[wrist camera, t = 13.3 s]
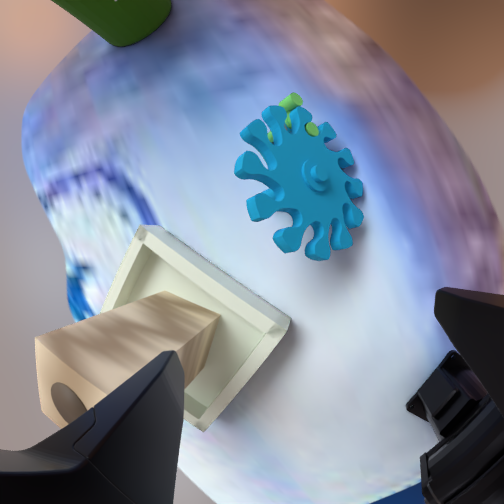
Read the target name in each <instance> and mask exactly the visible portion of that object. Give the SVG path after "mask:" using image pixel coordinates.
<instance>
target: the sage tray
mask: <svg viewBox="0 0 504 504" xmlns="http://www.w3.org/2000/svg"><path fill="white" fill-rule="evenodd" d="M164 290H165V291H167V292H170V293H172V294H174V295H176V296H179V297H181V298H183V299H185V300H188V301H190V302H192V303H195V304H197V305H199V306H202V307H204V308H206V309H209V310H211V311H214V312H216V313H218V314H221V315H220V318H219V322H218V325H217V328H216V331H215V334H214V338H213V341H212V344H211V347H210V350H209V354H208V357H207V360H206V363H205V366H204V368H203V369H202V370H201V372H200V373H199V374H198V375H197V376H196V377H195V378H194V379H193V381H192V382H191V383H190V384H189V385H188V386H187V387H186V388H185V390H184V418H183V419H185V420H186V421H188V422H189V423H191V424H192V425H193V426H195V427H196V428H198V429H199V430H201V431H202V432H204V431H205V430H206V429H207V428H208V427H209V426H210V425H211V423H212V422H213V421H214V420H215V419H216V418H217V417H218V416H219V414H220V413H221V412H222V411H223V410H224V409H225V408H226V406H227V405H228V404H229V403H230V402H231V401H232V399H233V398H234V397H235V396H236V395H237V394H238V392H239V391H240V390H241V389H242V388H243V386H244V385H245V384H246V383H247V382H248V380H249V379H250V378H251V377H252V375H253V374H254V373H255V372H256V371H257V369H258V368H259V367H260V366H261V364H262V363H263V362H264V360H265V359H266V358H267V357H268V355H269V354H270V353H271V352H272V350H273V349H274V348H275V346H276V345H277V344H278V343H279V341H280V340H281V339H282V337H283V336H284V335H285V333H286V332H287V330H288V327H289V324H290V320H291V318H290V317H289V316H287V315H286V314H284V313H283V312H281V311H280V310H278V309H277V308H275V307H274V306H272V305H271V304H269V303H268V302H266V301H265V300H264V299H262V298H261V297H259V296H258V295H256V294H255V293H253V292H252V291H250V290H249V289H248V288H246V287H245V286H243V285H242V284H240V283H239V282H237V281H236V280H235V279H233V278H232V277H230V276H229V275H227V274H226V273H225V272H223V271H222V270H220V269H219V268H218V267H216V266H215V265H213V264H212V263H210V262H209V261H208V260H206V259H205V258H203V257H202V256H201V255H199V254H198V253H196V252H195V251H194V250H192V249H191V248H190V247H188V246H187V245H185V244H184V243H183V242H181V241H180V240H179V239H177V238H176V237H174V236H173V235H172V234H170V233H169V232H168V231H166V230H165V229H164V228H162V227H161V226H157V225H139V227H138V229H137V231H136V233H135V235H134V237H133V239H132V241H131V243H130V246H129V248H128V250H127V252H126V254H125V256H124V258H123V260H122V263H121V265H120V267H119V269H118V271H117V274H116V276H115V278H114V280H113V283H112V285H111V287H110V290H109V292H108V295H107V297H106V299H105V302H104V304H103V307H102V309H101V312H100V314H101V313H104V312H107V311H110V310H112V309H115V308H118V307H121V306H123V305H126V304H129V303H132V302H134V301H137V300H140V299H143V298H145V297H148V296H151V295H154V294H156V293H159V292H162V291H164Z"/></svg>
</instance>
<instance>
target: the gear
mask: <svg viewBox="0 0 504 504" xmlns="http://www.w3.org/2000/svg"><path fill="white" fill-rule="evenodd" d="M302 104H303V101H302V98H301V97H300V96H299V95H298V94H296V93H291V94H290V95H289V96H287V97H286V98H285V99H284V100H282V101H281V102H280V103H279V106H269V107H267V108H266V109H265V110H264V111H263V112H262V118H263V120H264V121H265V122H266V124H267V125H268V127H269V128H270V130H271V131H270V132H269V133H268V134H267V128H266V126H265V124H264V123H263V122H262V121H261V120H260V119H257V120H254V121H253V122H251V123H250V124H249V125H248V126H247V127H245V128H244V129H243V130H242V131H241V132H240V136H241V138H242V139H243V140H244V141H245V142H247V143H248V144H250V145H252V146H253V147H255V148H256V149H257V150H258V151H259V152H260V153H261V155H262V156H263V158H264V160H265V161H266V163H267V165H268V169H266V168H265V167H264V166H263V164H262V162H261V161H260V159H259V157H258V156H257V155H256V154H255V153H253V152H251V151H246V152H244V153H243V154H242V155H241V156H239V157H238V159H237V161H236V164H235V170H234V174H235V175H236V176H237V177H238V178H240V179H244V180H245V179H254V180H257V181H260V182H262V183H263V184H265V185H266V186H268V187H269V189H267V190H265V191H264V192H262V193H259V194H257V195H255V196H253V197H251V198H249V199H247V200H246V202H247V210H248V213H249V216H250V218H251V220H252V221H254V222H258V221H261V220H264V219H267V218H269V217H271V216H272V215H273V213H275V212H276V211H282V212H287V213H289V214H290V215H291V217H292V219H293V225H292V227H287V228H284V229H280V230H278V231H276V232H275V233H274V235H273V240H274V242H275V243H276V245H277V246H278V247H279V248H280V249H281V250H282V251H283V252H284V253H289V252H295V251H297V250H298V249H299V248H300V246H301V241H302V237H303V234H304V232H305V230H306V228H307V227H308V226H309V225H311V226H312V227H313V230H314V237H313V239H312V240H311V241H310V242H309V243H308V244H307V245H306V247H305V256H307V257H308V258H310V259H312V260H316V261H321V260H328V259H329V258H330V253H331V251H330V246H329V239H328V234H329V227H330V224H331V226H332V234H331V238H330V245H331V248H332V250H341V249H346V248H349V247H351V246H352V245H353V240H352V237H351V235H350V233H349V232H348V230H347V228H346V226H347V227H348V228H349V229H350V228H355V227H359V226H360V225H361V223H362V221H363V218H364V216H363V213H362V211H361V210H360V209H358V208H357V207H356V206H355V205H354V204H353V203H352V201H351V200H350V198H351V199H354V198H358V197H361V196H362V194H363V184H362V182H361V181H360V180H359V179H354V178H351V177H349V176H348V175H347V174H345V173H344V172H343V171H342V170H341V168H346V167H349V166H351V165H353V164H354V160H353V157H352V154H351V152H350V150H349V149H348V148H345V149H342V150H340V151H338V152H334V151H331V150H329V149H328V148H327V147H326V146H325V144H324V143H326V142H328V141H330V140H332V139H334V138H336V133H335V131H334V130H333V128H332V127H331V126H330V125H329V123H328V122H325V123H323V124H321V125H320V126H318V127H317V126H316V125H315V124H314V123H312V122H311V121H312V115H311V113H310V112H308V111H307V110H306V109H304V108H302V107H300V106H301V105H302ZM273 141H274V145H273V144H272V142H273ZM340 167H341V168H340Z"/></svg>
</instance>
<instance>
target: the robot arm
mask: <svg viewBox="0 0 504 504" xmlns="http://www.w3.org/2000/svg"><path fill="white" fill-rule="evenodd" d="M434 314H435V317H436V319H437V320H438V322H439V323H440V325H441V326H442V328H443V330H444V331H445V333H446V334H447V336H448V337H449V339H450V341H451V342H452V344H453V345H454V347H455V348H456V350H457V351H458V352H459V353H457V352H456V351H454V350H451V351H450V352H449V353H448V354H447V355H446V357H445V358H444V359H443V361H442V362H441V363H440V365H439V366H438V367H437V368H436V369H435V371H434V372H433V373H432V374H431V376H430V377H429V378H428V379H427V380H426V382H425V383H424V384H423V385H422V386H421V388H420V389H419V390H418V391H417V392H416V394H415V395H414V396H413V397H412V398H411V399H410V400H409V401H408V402H407V404H406V409H407V410H408V411H409V412H411V413H413V414H415V415H416V416H418V417H420V418H422V419H424V420H426V421H427V422H429V423H430V424H431V426H432V428H433V430H434V432H435V434H436V436H437V438H438V440H439V443H438V444H437V445H435V446H434V447H433V448H432V449H431V450H429V451H428V452H427V453H426V452H425V453H424V454H423V455H422V456H420V464H421V465H420V467H421V482H422V494H423V496H424V497H425V503H426V504H504V295H500V294H492V293H485V292H478V291H471V290H464V289H457V288H450V287H444V288H441V289H439V290H437V292H436V295H435V306H434ZM452 355H454V356H453V357H452V358H451V356H452ZM184 387H185V374H184V370H183V367H182V365H181V362H180V359H179V357H178V354H177V352H176V351H175V350H168V351H163V352H161V353H160V354H159V355H157V356H156V357H155V358H154V359H152V360H151V361H150V362H149V363H147V364H146V365H145V366H144V367H142V368H141V369H140V370H139V371H137V372H136V373H135V374H134V375H132V376H131V377H130V378H129V379H127V380H126V381H125V382H124V383H122V384H121V385H120V386H118V387H117V388H116V389H115V390H113V391H112V392H111V393H110V394H108V395H107V396H106V397H104V398H103V399H102V400H101V401H99V402H98V403H97V404H95V405H94V408H93V407H91V408H90V409H89V410H88V411H86V412H85V413H84V414H82V415H81V416H80V417H78V418H77V419H75V420H74V421H73V422H71V423H70V424H68V425H67V426H65V427H64V428H62V429H61V430H59V431H57V432H56V433H54V434H52V435H51V436H49V437H48V438H46V439H44V440H43V441H41V442H39V443H38V444H36V445H34V446H33V447H31V448H28V449H25V450H21V451H8V450H1V449H0V504H173V499H174V489H175V480H176V472H177V463H178V455H179V448H180V440H181V433H182V426H183V418H184ZM411 405H413V406H412V407H410V406H411Z"/></svg>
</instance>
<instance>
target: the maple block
mask: <svg viewBox="0 0 504 504" xmlns="http://www.w3.org/2000/svg"><path fill="white" fill-rule="evenodd" d="M220 315H221V314H218V313H216V312H214V311H211V310H209V309H206V308H204V307H202V306H199V305H197V304H195V303H192V302H190V301H188V300H185V299H183V298H181V297H179V296H176V295H174V294H172V293H170V292H167V291H165V290H164V291H162V292H159V293H156V294H154V295H151V296H148V297H145V298H143V299H140V300H137V301H134V302H132V303H129V304H126V305H123V306H121V307H118V308H115V309H112V310H110V311H107V312H104V313H101V314H98V315H96V316H93V317H90V318H87V319H85V320H82V321H79V322H76V323H74V324H71V325H68V326H65V327H63V328H60V329H57V330H54V331H51V332H48V333H46V334H43V335H40V336H37V337H35V351H36V367H37V378H38V388H39V396H40V403H41V409H42V412H43V413H44V414H45V415H46V416H47V417H49V418H50V419H51V420H52V421H53V422H54V423H55V424H56V425H57V426H59V427H60V428H61V429H62V428H64V427H65V426H67V425H68V424H70V423H71V422H73V421H74V420H75V419H77V418H78V417H80V416H81V415H82V414H84V413H85V412H86V411H88V410H89V409H90V408H91V407H93V408H94V405H95V404H97V403H98V402H99V401H101V400H102V399H103V398H104V397H106V396H107V395H108V394H110V393H111V392H112V391H113V390H115V389H116V388H117V387H118V386H120V385H121V384H122V383H124V382H125V381H126V380H127V379H129V378H130V377H131V376H132V375H134V374H135V373H136V372H137V371H139V370H140V369H141V368H142V367H144V366H145V365H146V364H147V363H149V362H150V361H151V360H152V359H154V358H155V357H156V356H157V355H159V354H160V353H161V352H163V351H168V350H175V351H176V352H177V354H178V357H179V359H180V362H181V365H182V367H183V370H184V374H185V387H184V390H185V388H186V387H187V386H188V385H189V384H190V383H191V382H192V381H193V379H194V378H195V377H196V376H197V375H198V374H199V373H200V372H201V370H202V369H203V368H204V366H205V363H206V360H207V357H208V354H209V350H210V347H211V344H212V341H213V338H214V334H215V331H216V328H217V325H218V322H219V318H220Z"/></svg>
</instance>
